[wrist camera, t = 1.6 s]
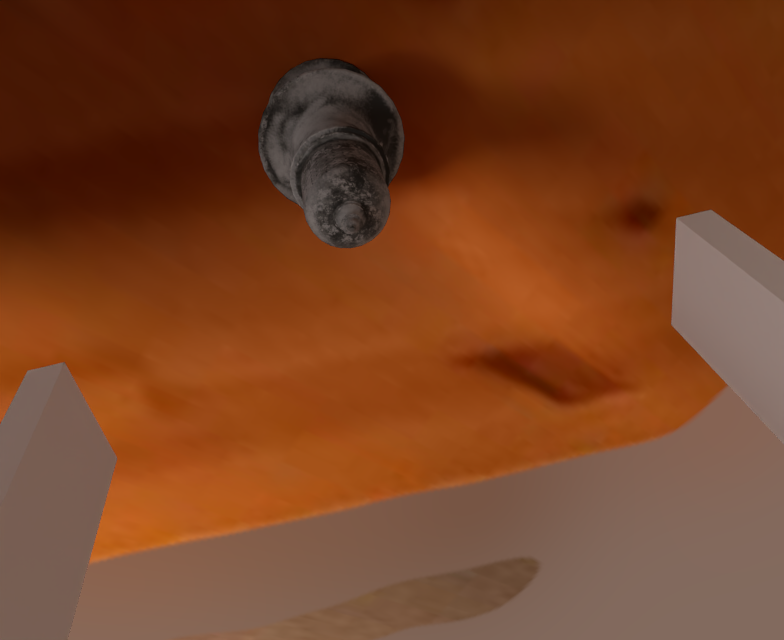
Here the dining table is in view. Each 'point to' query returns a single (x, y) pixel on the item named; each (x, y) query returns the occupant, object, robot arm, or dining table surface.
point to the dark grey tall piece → (333, 149)
